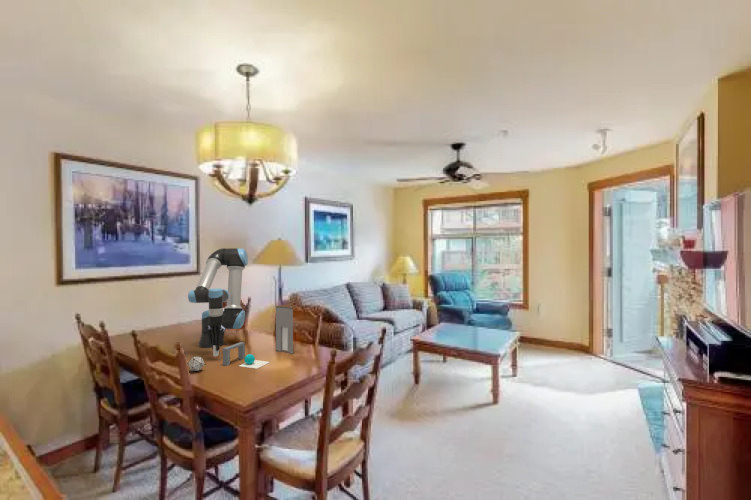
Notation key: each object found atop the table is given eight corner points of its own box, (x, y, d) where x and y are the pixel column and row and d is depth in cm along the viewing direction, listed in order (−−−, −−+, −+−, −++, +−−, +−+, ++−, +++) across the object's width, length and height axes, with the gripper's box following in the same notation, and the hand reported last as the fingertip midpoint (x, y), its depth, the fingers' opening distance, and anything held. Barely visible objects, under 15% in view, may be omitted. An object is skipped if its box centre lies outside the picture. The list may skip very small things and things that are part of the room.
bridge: (222, 365, 211) (222, 348, 211) (240, 357, 225) (240, 342, 225) (227, 365, 210) (227, 348, 210) (244, 358, 224) (244, 342, 224)
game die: (196, 379, 199) (190, 368, 193) (187, 371, 204) (180, 359, 197) (211, 367, 205) (205, 356, 199) (202, 359, 209) (196, 348, 203)
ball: (251, 357, 209) (248, 367, 210) (257, 355, 214) (255, 364, 215) (243, 353, 211) (241, 363, 212) (250, 351, 216) (248, 360, 217)
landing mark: (238, 366, 209) (238, 365, 209) (252, 360, 221) (252, 359, 221) (256, 368, 205) (256, 368, 205) (270, 362, 216) (270, 361, 216)
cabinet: (292, 354, 233) (292, 308, 232) (276, 355, 230) (276, 308, 230) (290, 345, 253) (290, 303, 252) (275, 346, 250) (275, 303, 250)
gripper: (202, 315, 221) (202, 356, 221) (220, 317, 216) (220, 358, 216) (211, 313, 228) (211, 353, 228) (229, 314, 223) (229, 355, 223)
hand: (215, 355), depth 222 cm, fingers closed
